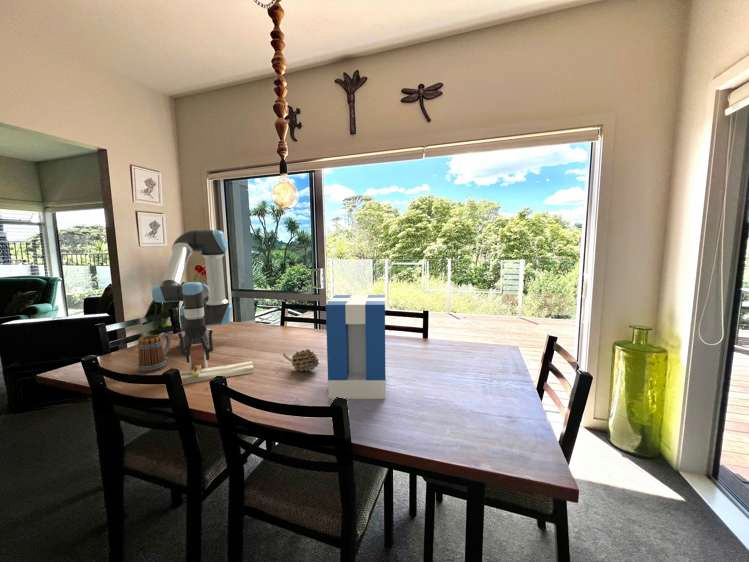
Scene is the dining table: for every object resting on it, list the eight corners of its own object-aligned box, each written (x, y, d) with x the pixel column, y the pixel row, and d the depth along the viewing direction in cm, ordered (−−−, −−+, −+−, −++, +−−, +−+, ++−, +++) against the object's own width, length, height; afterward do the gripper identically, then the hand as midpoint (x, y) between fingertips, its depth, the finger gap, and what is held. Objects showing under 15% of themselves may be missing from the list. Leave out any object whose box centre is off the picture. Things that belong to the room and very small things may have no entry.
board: (178, 376, 135) (177, 372, 135) (252, 365, 147) (252, 361, 147) (174, 385, 127) (174, 380, 127) (253, 372, 139) (253, 368, 139)
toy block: (337, 374, 136) (334, 295, 132) (385, 374, 135) (384, 294, 131) (328, 398, 115) (325, 304, 111) (385, 398, 114) (384, 304, 110)
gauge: (193, 370, 142) (191, 344, 140) (205, 368, 144) (203, 343, 142) (189, 383, 128) (186, 354, 127) (202, 380, 130) (200, 353, 129)
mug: (152, 374, 139) (148, 341, 137) (132, 372, 141) (129, 340, 139) (180, 361, 154) (177, 331, 152) (162, 359, 156) (159, 330, 154)
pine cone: (324, 370, 141) (324, 348, 140) (310, 378, 133) (310, 355, 132) (288, 361, 152) (287, 341, 150) (273, 368, 143) (272, 347, 142)
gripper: (168, 321, 131) (173, 374, 133) (217, 317, 138) (220, 367, 141) (172, 317, 137) (176, 368, 140) (218, 313, 145) (221, 362, 147)
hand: (198, 368), depth 140 cm, fingers closed on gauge, 5 cm apart
